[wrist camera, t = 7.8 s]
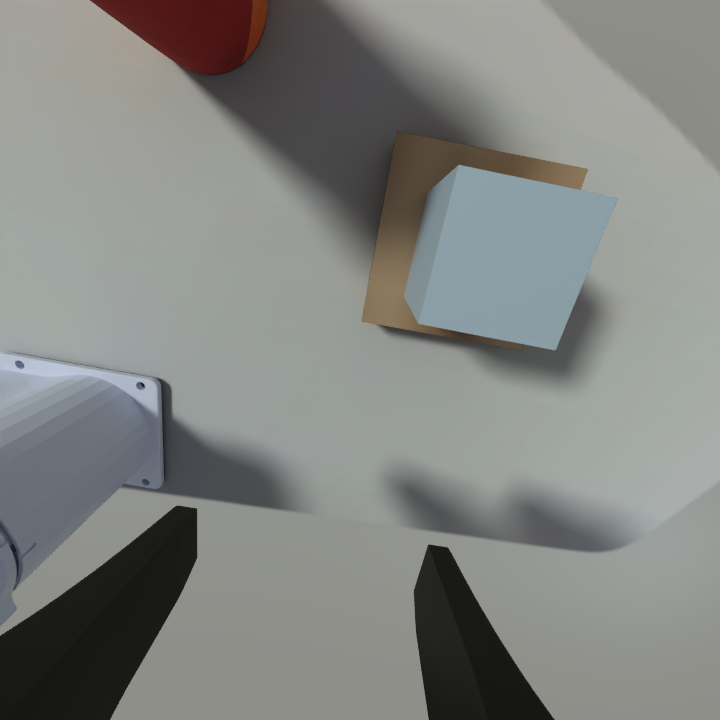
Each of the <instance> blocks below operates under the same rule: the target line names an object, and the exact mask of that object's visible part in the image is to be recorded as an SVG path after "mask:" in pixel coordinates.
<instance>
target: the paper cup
mask: <svg viewBox="0 0 720 720" xmlns="http://www.w3.org/2000/svg"><path fill="white" fill-rule="evenodd" d="M90 1H92V2H93V3H94V4H96V5H97V6H98V7H100V8H101V9H102V10H104V11H105V12H106V13H108V14H109V15H111V16H112V17H113V18H115V19H116V20H117V21H119V22H120V23H121V24H123V25H124V26H125V27H127V28H128V29H129V30H131V31H132V32H134V33H135V34H136V35H138V36H139V37H140V38H142V39H143V40H144V41H146V42H147V43H149V44H150V45H151V46H153V47H154V48H156V49H157V50H158V51H160V52H161V53H163V54H164V55H165V56H167V57H168V58H170V59H171V60H173V61H174V62H176V63H177V64H179V65H181V66H182V67H184V68H187V69H189V70H191V71H194V72H197V73H200V74H206V75H218V74H223V73H227V72H229V71H232V70H234V69H236V68H237V67H239V66H240V65H241V64H243V63H244V62H245V61H246V60H247V59H248V58H249V57H250V56H251V54H252V53H253V52H254V50H255V49H256V47H257V45H258V43H259V41H260V39H261V37H262V34H263V31H264V28H265V24H266V19H267V12H268V0H90Z"/></svg>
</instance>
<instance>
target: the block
mask: <svg viewBox="0 0 720 720" xmlns="http://www.w3.org/2000/svg"><path fill="white" fill-rule="evenodd" d="M617 199H618V198H616V197H611V196H607V195H602V194H597V193H592V192H587V191H582V190H578V189H573V188H568V187H563V186H558V185H554V184H549V183H544V182H539V181H534V180H529V179H525V178H520V177H515V176H510V175H505V174H501V173H496V172H491V171H486V170H481V169H476V168H472V167H467V166H462V165H458V166H457V167H456V168H455V169H453V170H452V171H451V172H450V173H449V174H448V175H447V176H446V177H444V178H443V179H442V180H441V181H440V182H439V183H438V184H436V185H435V186H434V187H433V188H432V189H431V190H430V191H429V192H428V194H427V198H426V203H425V207H424V211H423V216H422V220H421V224H420V229H419V233H418V237H417V241H416V246H415V250H414V254H413V259H412V263H411V267H410V272H409V276H408V280H407V285H406V289H405V293H404V298H405V300H406V301H407V303H408V305H409V307H410V309H411V311H412V313H413V315H414V317H415V318H416V320H417V322H418V324H422V325H427V326H432V327H437V328H442V329H448V330H453V331H458V332H463V333H468V334H473V335H479V336H484V337H489V338H494V339H499V340H504V341H509V342H515V343H520V344H525V345H530V346H535V347H540V348H546V349H551V350H556V348H557V346H558V343H559V341H560V338H561V336H562V333H563V331H564V329H565V326H566V324H567V321H568V319H569V316H570V314H571V312H572V309H573V307H574V304H575V302H576V299H577V297H578V294H579V292H580V290H581V287H582V285H583V282H584V280H585V277H586V275H587V273H588V270H589V268H590V265H591V263H592V260H593V258H594V256H595V253H596V251H597V248H598V246H599V243H600V241H601V238H602V236H603V234H604V231H605V229H606V226H607V224H608V221H609V219H610V217H611V214H612V212H613V209H614V207H615V204H616V202H617Z"/></svg>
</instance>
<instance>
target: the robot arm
mask: <svg viewBox="0 0 720 720" xmlns="http://www.w3.org/2000/svg"><path fill="white" fill-rule="evenodd" d="M22 362H23V363H22ZM140 382H142V383H143V384H144V385H145V387H143V386H142V385H141V383H140ZM146 479H147V480H146ZM163 483H164V464H163V430H162V395H161V384H160V382H159V381H158V380H157V379H155V378H152V377H147V376H141V375H135V374H130V373H124V372H119V371H113V370H107V369H102V368H96V367H90V366H85V365H79V364H73V363H68V362H62V361H57V360H51V359H45V358H40V357H34V356H28V355H23V354H17V353H11V352H1V353H0V627H1V625H2V624H3V623H4V622H5V621H6V620H7V619H8V618H9V617H10V616H11V615H12V614H13V613H14V612H15V611H16V609H17V608H16V605H15V604H14V602H13V598H12V592H13V591H14V590H15V589H16V588H17V587H18V586H19V585H20V584H21V583H22V582H23V581H24V580H25V579H26V578H27V577H28V576H29V575H30V574H31V573H32V572H33V571H34V570H35V569H37V567H38V566H40V565H41V564H42V563H43V562H44V561H45V560H46V559H47V558H48V557H49V556H50V555H51V554H52V553H53V552H54V551H55V550H56V549H57V548H58V547H59V546H60V545H61V544H62V543H63V542H64V541H65V540H66V539H67V538H68V537H69V536H70V535H71V534H72V533H73V532H75V530H77V529H78V527H80V526H81V525H82V524H83V523H84V522H85V521H86V520H87V519H88V518H89V517H90V516H91V515H92V514H93V513H94V512H95V511H96V510H97V509H98V508H99V507H100V506H101V505H102V504H103V503H104V502H105V501H106V500H107V499H108V498H109V497H110V496H111V495H113V494H114V493H115V491H116V490H118V489H119V488H120V487H121V486H122V485H123V484H127V485H133V486H139V487H145V488H151V489H158V488H160V487H161V486H162V485H163ZM196 559H197V509H196V508H190V507H183V506H176V507H174V508H173V509H172V510H170V511H169V512H168V513H167V514H166V515H164V516H163V517H162V518H161V519H159V520H158V521H157V522H156V523H155V524H153V525H152V526H151V527H150V528H148V529H147V530H146V531H145V532H144V533H142V534H141V535H140V536H139V537H137V538H136V539H135V540H134V541H132V542H131V543H130V544H129V545H127V546H126V547H125V548H123V549H122V550H121V551H120V552H118V553H117V554H116V555H114V556H113V557H112V558H111V559H109V560H108V561H107V562H105V563H104V564H103V565H102V566H100V567H99V568H98V569H96V570H95V571H94V572H92V573H91V574H90V575H88V576H87V577H85V578H84V579H83V580H81V581H80V582H79V583H77V584H76V585H74V586H73V587H72V588H70V589H69V590H67V591H66V592H65V593H63V594H62V595H61V596H59V597H58V598H56V599H55V600H53V601H52V602H50V603H49V604H48V605H46V606H45V607H43V608H42V609H40V610H39V611H37V612H36V613H35V614H33V615H31V616H30V617H29V618H27V619H25V620H24V621H22V622H21V623H19V624H18V625H16V626H15V627H13V628H12V629H10V630H9V631H7V632H5V633H4V634H2V635H1V636H0V720H110V719H111V717H112V714H113V713H114V711H115V709H116V707H117V705H118V703H119V701H120V700H121V698H122V696H123V694H124V692H125V690H126V688H127V687H128V685H129V683H130V681H131V679H132V678H133V676H134V675H135V673H136V671H137V669H138V668H139V666H140V664H141V662H142V661H143V659H144V657H145V656H146V654H147V652H148V650H149V649H150V647H151V645H152V643H153V642H154V640H155V638H156V637H157V635H158V633H159V631H160V630H161V628H162V626H163V624H164V623H165V621H166V619H167V617H168V616H169V614H170V612H171V610H172V609H173V607H174V605H175V603H176V602H177V600H178V598H179V596H180V594H181V592H182V590H183V588H184V586H185V583H186V582H187V579H188V577H189V575H190V573H191V570H192V568H193V566H194V564H195V561H196ZM414 602H415V623H416V634H417V642H418V649H419V656H420V662H421V670H422V676H423V683H424V690H425V697H426V704H427V710H428V717H429V720H554V718H553V717H552V716H551V714H550V713H549V711H548V710H547V709H546V707H545V706H544V704H543V703H542V702H541V700H540V699H539V698H538V696H537V695H536V694H535V692H534V691H533V690H532V688H531V686H530V685H529V683H528V682H527V680H526V679H525V677H524V676H523V674H522V673H521V671H520V670H519V668H518V667H517V665H516V664H515V662H514V661H513V659H512V657H511V656H510V654H509V653H508V651H507V650H506V648H505V647H504V645H503V643H502V642H501V640H500V639H499V637H498V635H497V634H496V632H495V630H494V629H493V627H492V625H491V624H490V622H489V620H488V619H487V617H486V615H485V614H484V612H483V610H482V609H481V607H480V605H479V603H478V602H477V600H476V598H475V597H474V595H473V593H472V591H471V589H470V587H469V585H468V584H467V582H466V580H465V578H464V576H463V574H462V573H461V571H460V569H459V567H458V565H457V563H456V561H455V559H454V557H453V556H452V554H451V552H450V550H449V549H448V548H447V547H441V546H434V545H428V547H427V551H426V554H425V557H424V560H423V563H422V566H421V570H420V573H419V576H418V579H417V583H416V586H415V589H414Z"/></svg>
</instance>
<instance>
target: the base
mask: <svg viewBox="0 0 720 720" xmlns="http://www.w3.org/2000/svg"><path fill="white" fill-rule="evenodd" d="M458 165H462V166H467V167H472V168H476V169H481V170H486V171H491V172H496V173H501V174H505V175H510V176H515V177H520V178H525V179H529V180H534V181H539V182H544V183H549V184H554V185H558V186H563V187H568V188H573V189H578V190H581V187H582V184H583V182H584V179H585V176H586V173H587V171H588V169H585V168H580V167H575V166H570V165H565V164H560V163H555V162H550V161H545V160H540V159H535V158H530V157H525V156H520V155H515V154H510V153H504V152H499V151H494V150H489V149H484V148H479V147H474V146H469V145H464V144H459V143H454V142H449V141H444V140H439V139H434V138H429V137H423V136H418V135H413V134H408V133H403V132H398V131H397V133H396V138H395V143H394V148H393V153H392V159H391V164H390V170H389V175H388V181H387V186H386V191H385V197H384V202H383V208H382V213H381V219H380V224H379V230H378V235H377V240H376V246H375V251H374V257H373V262H372V268H371V273H370V278H369V284H368V289H367V295H366V300H365V306H364V311H363V317H362V322H368V323H373V324H378V325H384V326H389V327H395V328H400V329H406V330H411V331H416V332H422V333H427V334H433V335H438V336H444V337H449V338H455V339H460V340H465V341H471V342H476V343H482V344H487V345H493V346H498V347H503V348H509V349H514V350H520V351H522V349H523V347H524V344H520V343H515V342H509V341H504V340H499V339H494V338H489V337H484V336H479V335H473V334H468V333H463V332H458V331H453V330H448V329H442V328H437V327H432V326H427V325H422V324H418V322H417V320H416V318H415V317H414V315H413V313H412V311H411V309H410V307H409V305H408V303H407V301H406V300H405V298H404V293H405V289H406V285H407V280H408V276H409V272H410V267H411V263H412V259H413V254H414V250H415V246H416V241H417V237H418V233H419V229H420V224H421V220H422V216H423V211H424V207H425V203H426V198H427V194H428V192H429V191H430V190H431V189H432V188H433V187H434V186H435V185H436V184H438V183H439V182H440V181H441V180H442V179H443V178H444V177H446V176H447V175H448V174H449V173H450V172H451V171H452V170H453V169H455V168H456V167H457V166H458Z"/></svg>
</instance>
